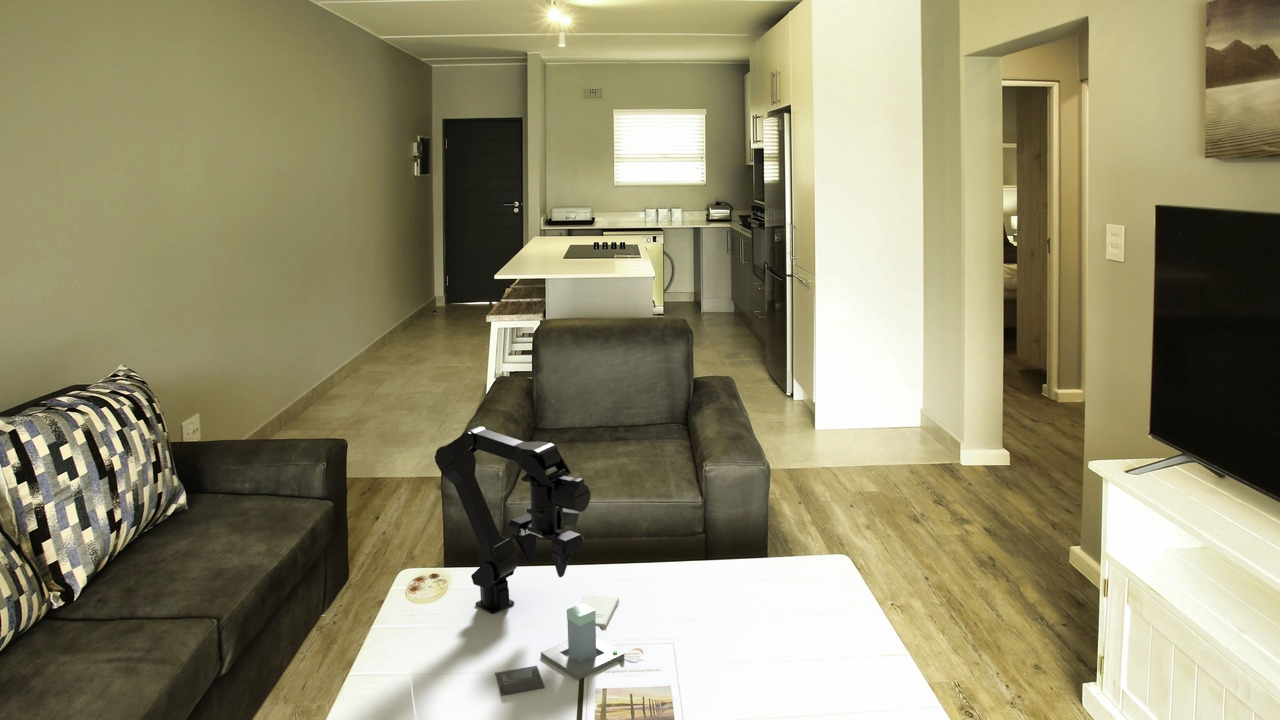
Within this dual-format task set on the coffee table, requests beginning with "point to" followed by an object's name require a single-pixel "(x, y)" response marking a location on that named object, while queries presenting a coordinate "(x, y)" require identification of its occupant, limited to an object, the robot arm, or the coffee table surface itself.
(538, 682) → the corner stop plate
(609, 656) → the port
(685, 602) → the coffee table surface
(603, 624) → the external hard drive
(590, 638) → the plug
